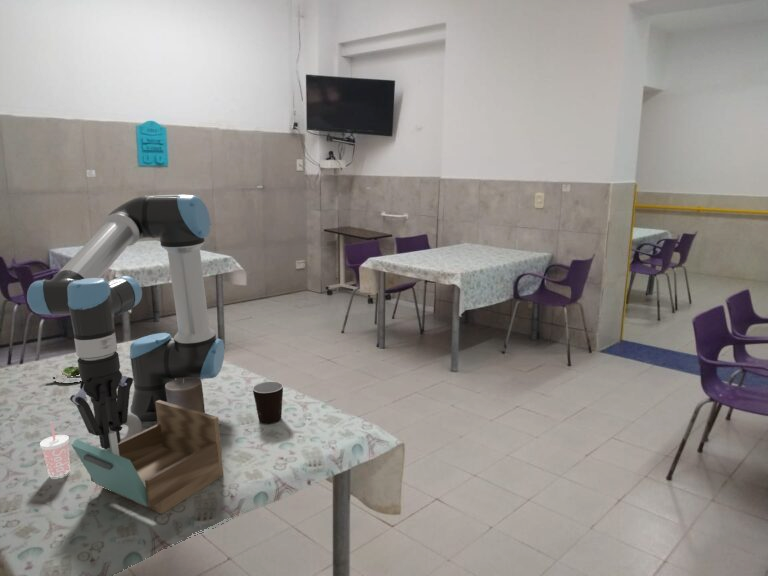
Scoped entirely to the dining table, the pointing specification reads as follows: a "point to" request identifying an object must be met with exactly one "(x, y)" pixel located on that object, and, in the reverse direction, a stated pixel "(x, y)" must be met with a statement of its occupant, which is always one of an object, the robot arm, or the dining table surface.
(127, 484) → the panel
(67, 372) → the salad plate
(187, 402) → the pillar candle
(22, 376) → the dining table surface
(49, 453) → the beverage cup
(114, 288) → the robot arm
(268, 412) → the coffee mug
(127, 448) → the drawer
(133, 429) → the donut
